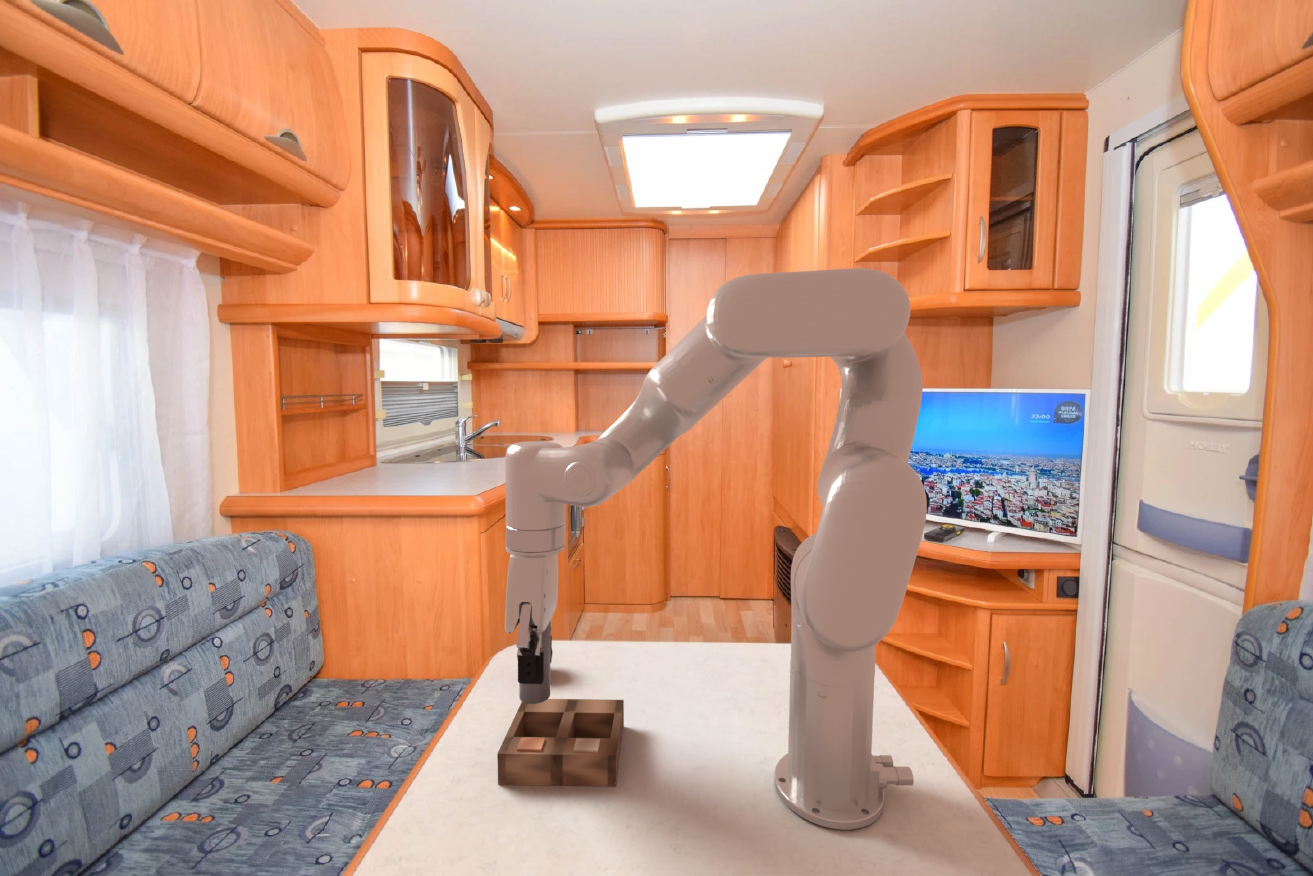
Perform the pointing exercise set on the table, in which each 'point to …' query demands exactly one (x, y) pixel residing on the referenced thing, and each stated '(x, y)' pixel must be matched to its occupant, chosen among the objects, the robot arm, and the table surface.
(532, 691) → the plug
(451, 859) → the table surface
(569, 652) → the table surface
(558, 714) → the socket block
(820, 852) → the table surface
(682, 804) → the table surface
